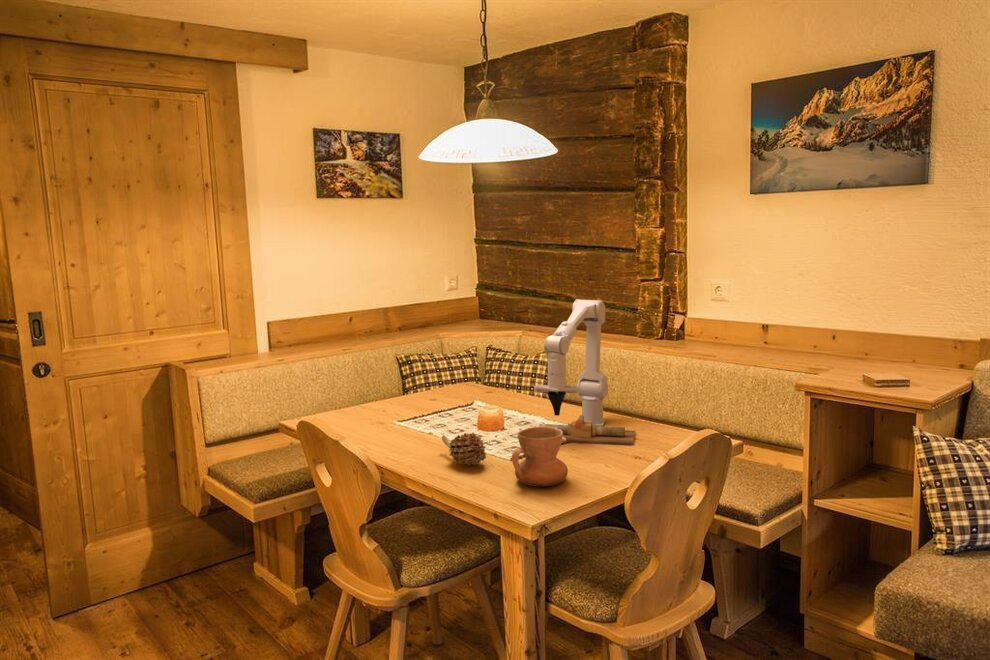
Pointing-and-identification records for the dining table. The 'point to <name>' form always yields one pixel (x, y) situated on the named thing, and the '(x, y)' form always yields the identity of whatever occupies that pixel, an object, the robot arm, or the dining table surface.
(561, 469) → the ceramic jug
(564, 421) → the dining table surface
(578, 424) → the valve lever
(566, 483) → the dining table surface
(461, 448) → the pine cone
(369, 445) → the dining table surface
